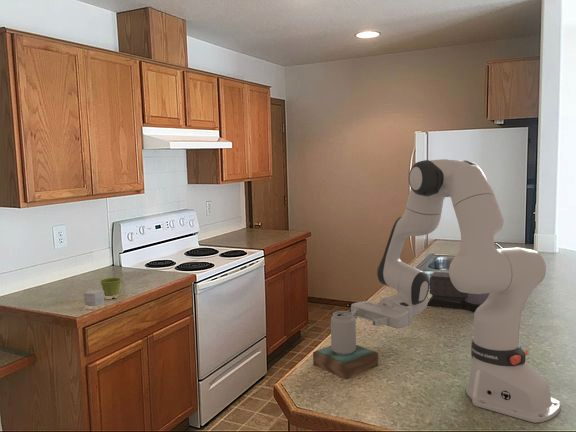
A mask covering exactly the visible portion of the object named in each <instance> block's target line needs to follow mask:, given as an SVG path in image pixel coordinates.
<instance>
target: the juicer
mask: <svg viewBox="0 0 576 432" xmlns="http://www.w3.org/2000/svg"><path fill="white" fill-rule="evenodd" d="M429 294H430V295H431V296H430V298H429V299H428V301H429V302H428V304H427V307H428V306H429V308H431V307H432V308H440V307H441V308H442V309H455V310H464V311H468V312H472V313H475V311H476V309H477V308H478V307H479V306H480V305H481V304H483V303H484V302H485V301H486V299H487V298H488V296H489V294H490V293H485V294H471V293H463V292H460V291H458V290H457V289H456V288H455V287H454V285H453V284H452V282H451V280H450V276H449V272H437V271H436V272H435V271H434V272H433V273H432V274H431V276H430V277H429ZM430 306H431V307H430Z"/></svg>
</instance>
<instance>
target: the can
mask: <svg viewBox="0 0 576 432" xmlns="http://www.w3.org/2000/svg"><path fill="white" fill-rule="evenodd" d="M356 319H357V318H355V317H354V316H353V313H352V312H351V311H348V310H339V311H335V312H333V313H332V317H331V318H330V346H331V349H332V351H334V353H336V354H339V355H349V354H352V353H353V352H354V351H355V350H356V345H357V336H356V334H357V329H356V328H357V327H356V321H357V320H356Z"/></svg>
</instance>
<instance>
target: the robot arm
mask: <svg viewBox="0 0 576 432" xmlns="http://www.w3.org/2000/svg"><path fill="white" fill-rule="evenodd" d="M408 183H409V187H410V190H409V193H408V198H407V202H406V206H405V210H404V213H403V215H402V216H399V217H398V218H397V219H395V222H394V224H393V226H392V228H391V231H390V234H389V237H388V240H387V244H386V246H385V250H384V253H383V256H382V258H381V259H380V262H379V264H378V265H377V269H376V274H377V279H378V281H379V283H380V284H382V285H384V286H387V287H389V288H391V289H393V290H395V291H397V293H396V294H392V295H389V296H387V297H386V296H385V297H383V298H381V299H380V300H379V301H378V303H376V302H372V301H368V300H367V301H366V300H364V301H358V302H355V303H352V304H351V305H350V312H352V313H353V316H354V317H355V319H358V317H359V318H361V319H365V320H368V321H372V325H373V326H375V327H378V326H387V327H390V328H393V329H403V328H406V327H410V326H413V317H416V316H418V315H420V314H421V313H422V312H424V310H426V308H427V307H428V306H427V304H428V301H429V299H428V294H429V293H430V278H429V276H428V275H427V273H426V272H425V271H423V270H421V269H419V268H418V267H417V268H416V267H414V266H411V265H409V264H408V263H406V262H403V260H401V253H402V251H403V247H404V245H405V242H406V239H407V238H408V237H420V236H425V235H429V234H431V233H433V232H434V231H435V230H436V229H437V228H438V226H439V224H440V221H441V217H442V212H443V205H444V199H446V198H450V200H451V203H452V207H453V210H454V213H455V216H456V220H457V222H458V223H457V224H458V226H459V227H458V228H459V232H460V246H459V249H458V251H457V253H456V254H455V256H454V257H453V259H452V260H451V262H450V264H449V268H448V269H449V270H448V273H449V276H450V280H451V282H452V284H453V285H454V287H455V288H456V289H457V290H458V291H460V292H463V293H471V294H485V293H490V294H489V296H488V298H487V299H486V301H485V302H484V303H483V304H481V305H480V306H479V307H478V308H477V309H476V311H475V312H473V313H474V314H473V335H472V336H473V337H472V340H471V349H470V350H471V351H470V354H471V359H472V360H471V368H470V373H469V379H468V382H467V385H466V388H465V392H466V394H467V396H468V397H469V398H470V399H471V404H472V405H473V406H476V407H479V408H482V409H485V410H489V411H492V412H496V413H499V414H503V415H506V416H509V417H513V418H516V419H519V420H523V421H526V422H531V423H543V422H546V421H549V420H552V419H553V418H554V417H556V416H557V415H558V414H559V413H560V411H561V402H560V400H558V399H556V398H554V397H552V395H551V389H550V384H549V383H548V381H547V379H545V377H543V376H542V375H541V374H540V373H539V372H538V371H536V369H535V368H534V367H533V366H531V364H529V363H528V361H527V360H526V357H527V356H528V355H529V349H526V350H525V351H524V350H523V349H522V346H521V344H520V329H521V318H522V313H523V311H524V307H525V305H526V303H527V301H528V299H529V297H530V296H531V294H532V293H533V291H534V290H535V289H536V288H537V287H538V285H540V284H541V283H543V281H544V279H545V277H546V273H547V265H546V262H545V260H544V258H543V256H542V255H541V254H540V253H539V252H538V251H537V250H534V249H532V248H531V249H530V248H527V247H526V248H525V247H506V248H496V246H495V236H496V235H498V234H499V233H500V232H501V230H502V229H503V226H504V222H505V221H504V217H503V215H502V212H501V209H500V206H499V203H498V201H497V198H496V195H495V193H494V190H493V188H492V186H491V184H490V181H489V180H488V178H487V176H486V174H485V173H484V171H483V169H482V168H481V167H480V166H479V164H477V163H476V162H473V161H471V160H455V159H445V158H443V159H433V160H432V159H431V160H429V159H424V160H420V161H417V162H414V164H413V165H412V166H411V169H410V170H409V173H408Z"/></svg>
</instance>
